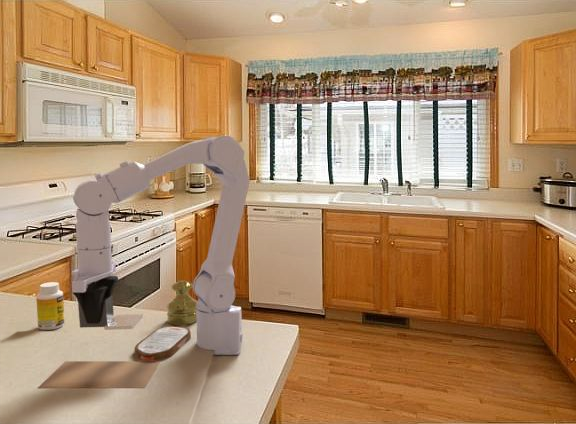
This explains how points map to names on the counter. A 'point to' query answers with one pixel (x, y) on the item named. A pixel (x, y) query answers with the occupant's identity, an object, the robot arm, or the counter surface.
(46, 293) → the supplement bottle
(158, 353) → the tin
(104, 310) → the grey pillar on tile
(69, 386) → the board
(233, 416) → the counter surface
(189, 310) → the green vase
